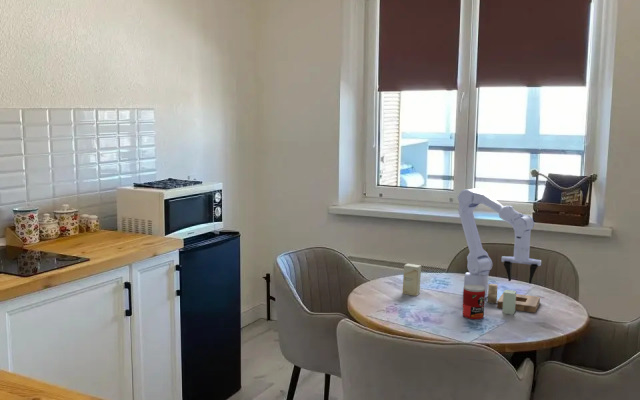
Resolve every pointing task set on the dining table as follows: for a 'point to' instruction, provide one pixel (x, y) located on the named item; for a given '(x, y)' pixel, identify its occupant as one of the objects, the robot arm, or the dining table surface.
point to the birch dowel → (492, 293)
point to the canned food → (473, 301)
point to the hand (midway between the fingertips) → (519, 281)
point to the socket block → (523, 303)
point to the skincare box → (411, 279)
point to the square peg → (509, 301)
